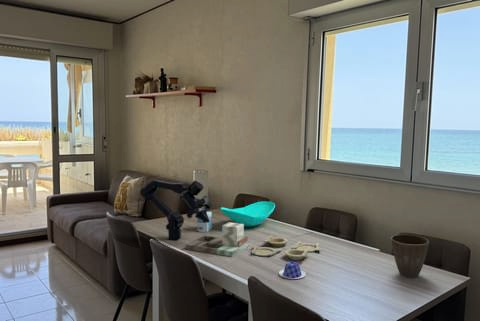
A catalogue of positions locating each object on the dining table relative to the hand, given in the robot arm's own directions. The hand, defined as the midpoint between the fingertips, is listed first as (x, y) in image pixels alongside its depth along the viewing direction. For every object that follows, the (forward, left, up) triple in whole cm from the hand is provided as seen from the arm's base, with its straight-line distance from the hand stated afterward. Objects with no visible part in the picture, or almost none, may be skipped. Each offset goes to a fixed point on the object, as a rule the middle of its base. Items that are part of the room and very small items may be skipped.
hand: (208, 222), depth 211 cm
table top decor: (+15, +43, -13) cm, 48 cm away
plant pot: (+98, -28, -13) cm, 103 cm away
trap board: (+6, -6, -12) cm, 15 cm away
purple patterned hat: (+48, -36, -13) cm, 62 cm away
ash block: (+15, -4, -10) cm, 18 cm away
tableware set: (+43, -4, -13) cm, 45 cm away
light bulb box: (-11, +28, -13) cm, 33 cm away
